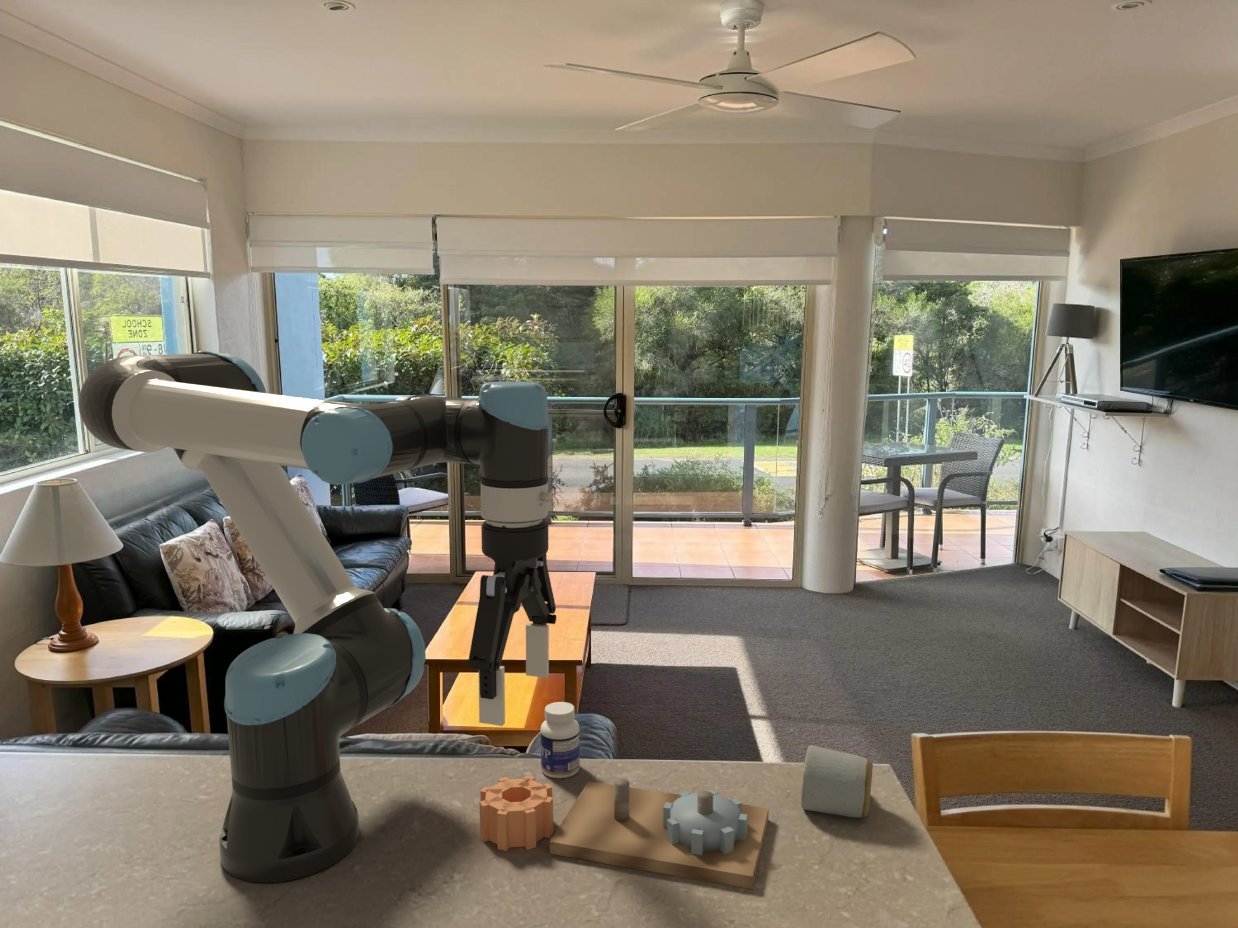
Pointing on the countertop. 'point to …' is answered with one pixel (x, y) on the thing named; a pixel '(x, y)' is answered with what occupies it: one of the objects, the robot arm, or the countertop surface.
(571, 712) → the pill bottle
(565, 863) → the countertop surface
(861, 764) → the ceramic mug
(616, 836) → the walnut board
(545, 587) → the robot arm
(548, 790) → the terracotta gear
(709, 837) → the slate gear
